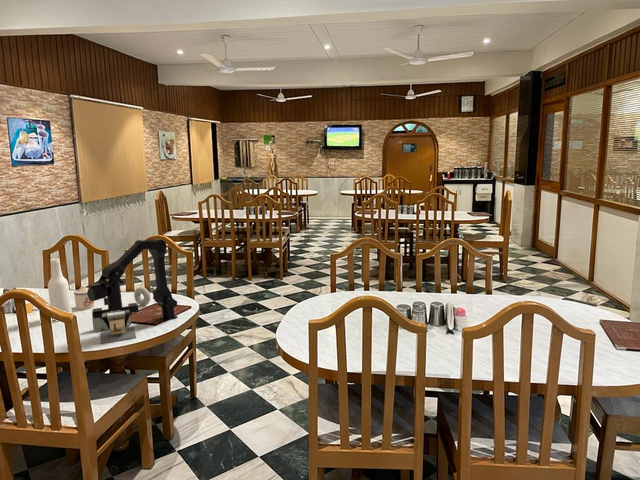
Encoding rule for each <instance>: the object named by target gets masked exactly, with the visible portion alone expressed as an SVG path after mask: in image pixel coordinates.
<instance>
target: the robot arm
mask: <svg viewBox="0 0 640 480" xmlns="http://www.w3.org/2000/svg"><path fill="white" fill-rule="evenodd" d="M144 250H148V251H149V254H150V255H151V257H152V259H153V266H154V267H153V268H154V275H155V277H154V278H155V285H156V287H155V290H152V291H151V292H152V295H153V296H152V299H153V300H154V302H155V303H156V304H157V305H158V307H161V316H159V319H161V317H162V319H161V320H163V319H164V320H163V321H165V322H167V321H170V320H174V319H176V318H177V319H178V315H176V314H175V307H177V306H178V301H177V300H176V299H175V298H173V295H172V292H171V290H170V288H169V286H168V281H167V273H166V263H165V256H166V253H167V242H166V241H165V240H164V239H160V238H159V239H158V238H151V239H150V240H148V239H147V240H145V239H143V240H142V239H138V240H136V241H134V243H133V244H132V245H131V246H130V248H128V249H127V250H126V251H125V252H124V253H123V254H122V255H121V256H120V257H119V258H118V259H117V260H116V261H113V262H112V263H110V264H108V265H107V266H104V268H103V269H102V270H101V272H102V273H101V274H100V275H101V276H100V277H99V279H98V281H97V283H96V284H89V285H88V288H89V289H88V292H87V295H88V298H89V300H90V301H94V302H95V301H98V300H102V299H103V303H104V306H107V308H106V309H103V308H102V307H97V308H92V310H91V313H92V315H91V316H92V317H93V318H100V319H103V321H104V322H105V323H106V325H107V327H108V328H109V329H108V331H109V330H110V324H109V320H108V316H107V315H109V314H112V313H113V314H116V313H122V312H124V313H125V321H124V322H125V328H127V327H126V325H127V321H128V319H129V316H130V317H131V315H133V313H138V312H140V310H139V304H138V303H137V302H132V303H131V302H130V303H127V304H128V306H123V300H122V293H121V292H122V291H121V285H123V284H125V281H124V280H123V279H122V278H121V277H122V276H123V275H124V273H125V271H126V269H127V267H128V266H129V265H130V264H131V263H132V262H133V261H134V260H135V259H136V258H137V257H138V256H139V255H140V254H141V253H142V252H143V251H144ZM92 317H91V318H92Z"/></svg>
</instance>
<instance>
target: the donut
mask: <svg viewBox="0 0 640 480" xmlns="http://www.w3.org/2000/svg"><path fill="white" fill-rule="evenodd" d="M142 296H143V298H142ZM133 297H134V301H135V303H137V304H138V306H142V307H143V306H144V307H145V306H147V305H149V303H150V302H151V293H150V292H149V290H148V289H147V288H145V287H143V286H141V287H137V288H136V289H135V291H134V293H133Z"/></svg>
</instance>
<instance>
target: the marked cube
mask: <svg viewBox="0 0 640 480" xmlns="http://www.w3.org/2000/svg"><path fill="white" fill-rule="evenodd" d="M109 323H110V332H111V335H113V334H119V333H125V322H124V316H116V317H110V318H109Z"/></svg>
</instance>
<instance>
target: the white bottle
mask: <svg viewBox="0 0 640 480" xmlns="http://www.w3.org/2000/svg"><path fill="white" fill-rule="evenodd" d="M49 261H50V269H51V270H50V274H51V277H50V279H49V281H48V282H47V289H48V297H49V304H51V305H52V306H54V307H56V308H58V309H60V310H63V311H66V312H71V313H72V314H73V311H72V304H71V296H70V295H71V294H70V288H69V287H70V286H69V282H68V279H66V278H65V277H64V275H63V272H62V268H61V264H60V262H61V261H60V258H56V257H55V258H51V259H50V260H49Z"/></svg>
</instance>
